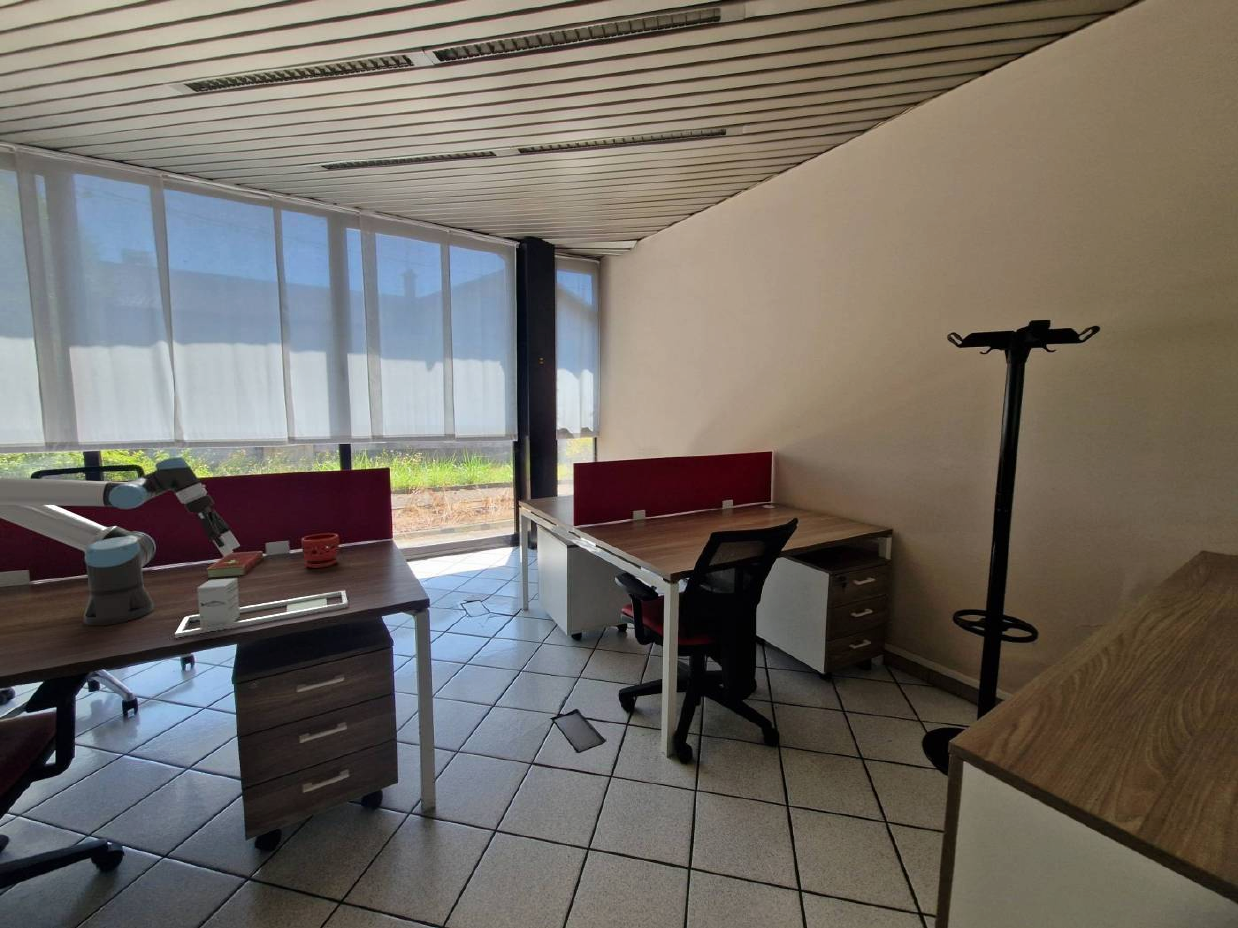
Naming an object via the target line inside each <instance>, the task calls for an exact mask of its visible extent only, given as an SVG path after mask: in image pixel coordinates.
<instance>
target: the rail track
mask: <svg viewBox="0 0 1238 928" xmlns="http://www.w3.org/2000/svg"><path fill="white" fill-rule="evenodd" d="M338 597H341V600H342V601H341V603H340V602H339V603H334V604H327V606H322V607H316V608H310V609H305V610H299V611H293V612H288V613H286V612H283V613H277V614H272V615H266V616H262V617H261V616H260V617H255V618H249V619H245V620H236V621H234V622H231V623H226V624H220V625H214V626H209V627H203V628H200V627H197V628H193V629H192V628H191V629H187V628H188V626H189V624H190V621H192V622H197V620H198V621H200V616H199V613H198V614H192V615H188V616H184V618H183V619H182V621H181V622H180V625H179V626H178V628H177V630H176V632H175V633H174V637H175V638H177V639H180V638H179V637H183V636H185V635H192V634H198V633H204V632H210V631H216V632H218V631H217V630H221V631H224V630H223V629H227V630H231V628H232V629H237V627H238V628H242V627H247V626H253V625H259V624H263V623H271V622H275V620H276V621H281V620H286V619H292V618H297V617H303V616H308V614H309V615H313V613H314V614H319V613H318V612H320V613H324V612H330V611H336V610H340V609H341V610H342V609H347V608H348V605H349V603H348V598H347V594H346V590H345V589H343V590H339V591H333V592H331V591H330V592H326V593H321V594H315V595H309V596H308V595H307V596H302V597H296V598H291V599H284V600H279V601H270V602H265V603H260V604H253V605H247V606H243V607H239V614H242V613H243V614H245V613H250V612H254V611H261V610H267V609H274V608H278V607H285V606H286V607H287V605H288V604H294V603H299V602H305V601H311V600H317V599H323V598H326V600H327V599H331V598H338ZM346 607H347V608H346ZM280 619H281V620H280ZM186 627H187V628H186ZM185 629H186V630H185ZM210 633H211V632H210ZM183 638H184V637H183Z"/></svg>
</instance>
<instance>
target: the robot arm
mask: <svg viewBox="0 0 1238 928" xmlns="http://www.w3.org/2000/svg"><path fill="white" fill-rule="evenodd" d="M155 468H156V470H154V471H152V472H150V473H147V474H145V475H142V476H139V477H136V478H133V479H132V480H128V481H126V482H125V481H102V480H101V481H99V480H97V481H95V480H75V479H50V478H49V479H46V478H45V479H44V478H42V479H41V478H21V477H20V478H19V477H18V478H17V477H4V476H2V475H0V519H1V520H2V519H3V520H5V521H8V522H10V523H13V524H16V525H18V526H20V527H23V528H25V529H28V530H30V531H33V532H36V533H38V534H40V535H42V536H44V537H48V538H51V539H52V540H56V541H58V542H61V543H63V544H65V545H68V546H70V547H72V548H76V549H78V550H80V551H83V552H84V562H85V566H86V576H87V582H88V583H87V585H88V591H89V598H88V601H87V604H86V608H85V611H84V614H83V623H84V625H87V626H93V627H97V626H98V627H99V626H100V627H101V626H108V625H116V624H120V623H125V622H128V621H132V620H136V619H139V618H141V617H144V616H146V615H148V614H150V613H151V612H153V611H154V602H153V599H152V598H151V597H150V595H149V593H148V592H147V589H146V588H145V586H144V577H143V567H144V566H145V565H147V564H148V563H149V562H150V561H151V560H152V559H153V557H154V556H155V553H156V549H157V546H156V543H155V541H154V539H153V538H152V537H151V536H150V535H148V534H147V533H144V532H141V531H134V530H133V531H129V530H127V529H125V528H122V527H120V526H117V525H114V526H105V525H102V524H99V523H97V522H95V521H92V520H91V519H88V518H86V517H83V516H81V515H78V514H76V513H74V512H72V511H69V510H67V509H64V508H62V507H61V506H66V507H67V506H69V507H70V506H72V507H75V506H76V507H110V508H112V507H114V508H115V507H116V508H118V509H121V510H130V509H135V508H138V507H140V506H141V505H143V504H144V503H145V502H147V501H149V500H151V499H153V498H155V497H158V496H160V495H162V494H164V493H167V492H170V491H173V493H174V494H175V496H176V497H177V499H178V500H179V502H180V504H183V505H184V506H183V507H184V509H186V511H187V512H188V514H191V515H192V514H194V513H197V514H195V516H196V517H195V518H197V520H199V521H198V522H199V523H200V524H201V527H202V529H203V530H204V533H205V535H206V536H207V538H208V539H207V540H208V541H209V542H213V543H214V544H215V546H216V548H217V549H218V550H219V552H220V553H221V555H222V556H223V557H224V556H226V555H229V554H231V553H234V551H233V550H235V549H237V548H239V547H240V546H241V545H240V543H239V542H238V540H237V539H236V537H235V536H234V534H233V533H232V532H231V531H232V530H233V529H232V526H229V524H228V523H226V522H225V521H224V520H223V518H222V517H221V516H220V515H219V514H218V512H217V511H216V510H215V508H214V507H210V506H212V505H214V504H215V501H214V499H213V498H212V497H211V495H210V494H207V493H208V491H207V490H206V485H205V484H202V482H201V481H200V480H199V478H198V477H197V475H196V474H195V472H194V471H193V469H192V468H191V465H189V464H188V462H187V461H186V460H185V459H184V457H183V456H181V455H175V456H172V457H168V458H165V459H163V460H162V461H159V462H157V463H156V464H155Z"/></svg>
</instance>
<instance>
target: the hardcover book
mask: <svg viewBox="0 0 1238 928" xmlns="http://www.w3.org/2000/svg"><path fill="white" fill-rule="evenodd" d="M263 554H264V553H263V551H260V550H259V551H248V552H247V551H244V552H233V553H231V554H229V555H226V556H223V557H222V558H220V559H219V560H217V561H216V562H215V563H213V564H211V565H210V566H209V567H207V568H206V569H205V571H207V573H208V578H212V579H213V578H220V577H221V578H222V577H231V576H245V575H246V574H247V573H248V572H250V571H251V570H252V569H253V568H254V567H256V566H257V565H258V563H261V561H262V560H263V559H264V555H263ZM262 558H263V559H262Z"/></svg>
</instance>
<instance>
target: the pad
mask: <svg viewBox="0 0 1238 928" xmlns="http://www.w3.org/2000/svg"><path fill="white" fill-rule="evenodd" d="M327 601H328V600H327V599H326V598H323V599H317V600H311V601H305V602H299V603H294V604H288V605H286V612H285V613H288V612H293V611H299V610H305V609H310V608H316V607H322V606H327V605H328V603H327Z"/></svg>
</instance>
